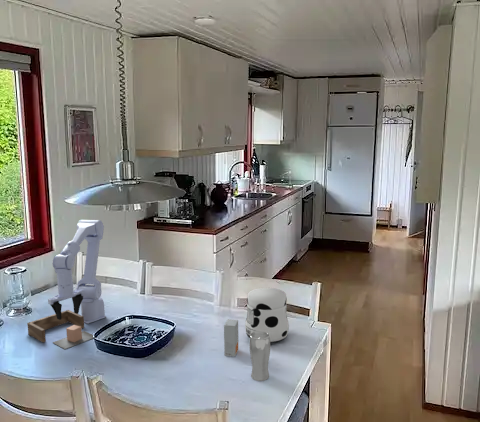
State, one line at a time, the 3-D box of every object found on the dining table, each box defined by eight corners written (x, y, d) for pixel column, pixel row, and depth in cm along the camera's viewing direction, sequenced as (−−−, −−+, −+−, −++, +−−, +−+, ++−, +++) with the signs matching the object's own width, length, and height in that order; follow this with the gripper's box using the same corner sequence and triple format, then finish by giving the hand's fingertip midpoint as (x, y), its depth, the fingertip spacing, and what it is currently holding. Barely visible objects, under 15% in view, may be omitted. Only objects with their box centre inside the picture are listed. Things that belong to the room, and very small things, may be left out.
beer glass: (248, 372, 167) (248, 330, 165) (269, 370, 168) (268, 329, 165) (251, 382, 161) (250, 339, 158) (271, 381, 161) (271, 338, 159)
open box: (69, 320, 214) (68, 309, 213) (101, 335, 198) (100, 323, 198) (28, 334, 200) (27, 322, 200) (59, 351, 185) (58, 339, 184)
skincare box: (235, 357, 178) (235, 326, 176) (224, 356, 179) (223, 325, 177) (238, 349, 184) (238, 319, 182) (227, 348, 185) (227, 318, 183)
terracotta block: (75, 336, 197) (74, 324, 196) (82, 338, 195) (81, 326, 194) (67, 340, 194) (66, 328, 193) (74, 342, 192) (73, 330, 191)
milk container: (294, 332, 199) (294, 290, 196) (279, 350, 183) (279, 304, 180) (255, 325, 206) (255, 284, 203) (238, 342, 191) (237, 298, 187)
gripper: (75, 277, 202) (78, 308, 205) (42, 286, 191) (46, 319, 194) (85, 280, 198) (88, 312, 200) (52, 290, 187) (55, 323, 189)
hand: (68, 316), depth 197 cm, fingers open, 7 cm apart
